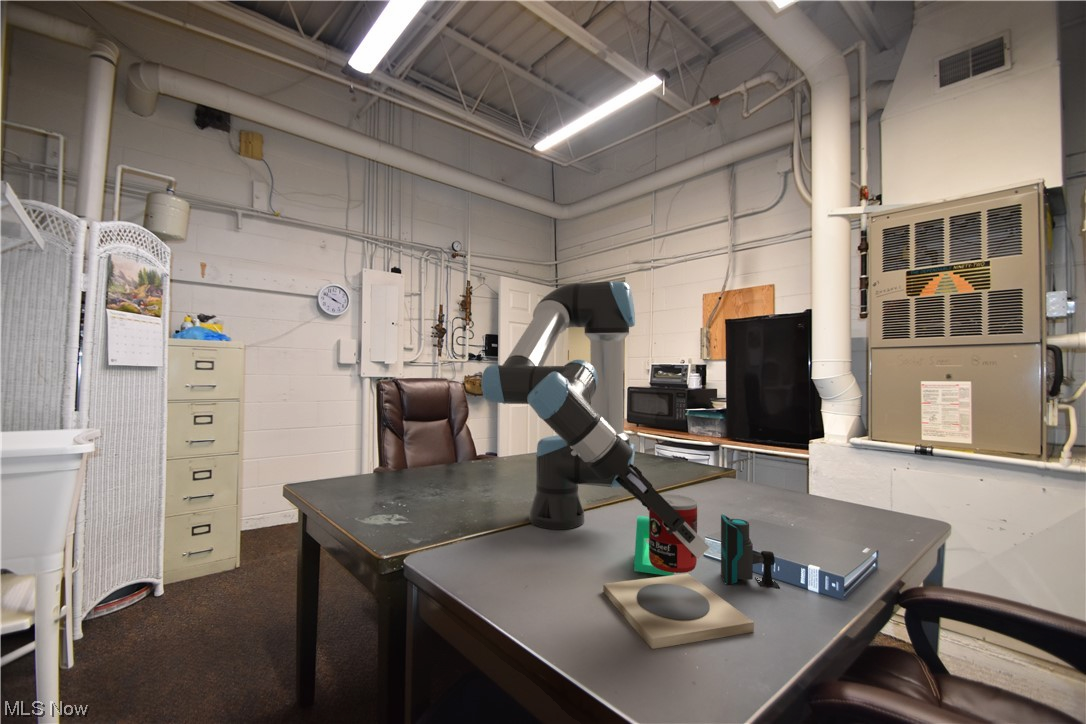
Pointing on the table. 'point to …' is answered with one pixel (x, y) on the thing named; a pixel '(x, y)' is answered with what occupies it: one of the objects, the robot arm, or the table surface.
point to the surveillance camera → (742, 554)
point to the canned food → (672, 538)
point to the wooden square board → (675, 610)
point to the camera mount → (644, 549)
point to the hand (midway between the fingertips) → (691, 542)
